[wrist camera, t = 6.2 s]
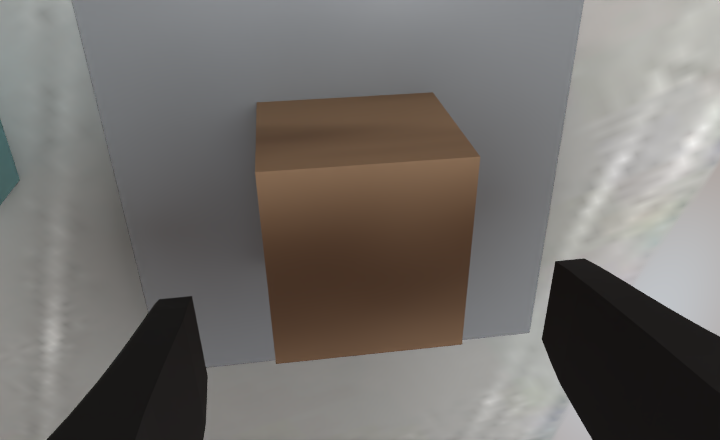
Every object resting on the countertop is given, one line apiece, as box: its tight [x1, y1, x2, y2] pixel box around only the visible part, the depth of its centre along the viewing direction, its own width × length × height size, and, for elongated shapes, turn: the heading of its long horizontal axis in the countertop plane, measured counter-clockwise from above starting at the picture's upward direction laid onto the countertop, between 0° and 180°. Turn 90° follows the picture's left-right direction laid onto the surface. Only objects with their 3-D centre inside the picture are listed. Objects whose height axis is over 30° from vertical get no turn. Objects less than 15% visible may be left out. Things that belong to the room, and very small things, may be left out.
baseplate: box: [72, 0, 584, 368], centre depth 17 cm, size 12×12×1 cm
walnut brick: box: [255, 92, 480, 364], centre depth 15 cm, size 5×4×4 cm
